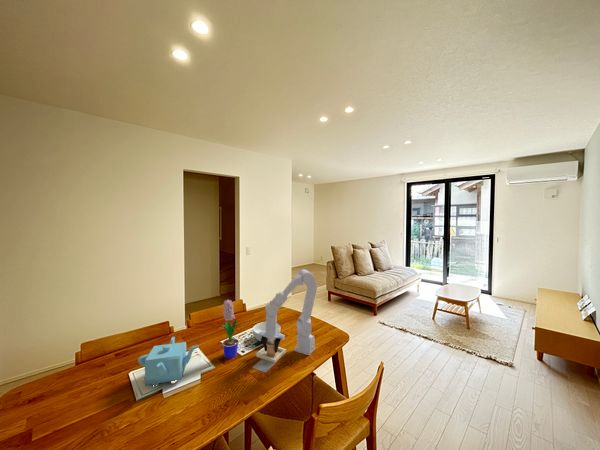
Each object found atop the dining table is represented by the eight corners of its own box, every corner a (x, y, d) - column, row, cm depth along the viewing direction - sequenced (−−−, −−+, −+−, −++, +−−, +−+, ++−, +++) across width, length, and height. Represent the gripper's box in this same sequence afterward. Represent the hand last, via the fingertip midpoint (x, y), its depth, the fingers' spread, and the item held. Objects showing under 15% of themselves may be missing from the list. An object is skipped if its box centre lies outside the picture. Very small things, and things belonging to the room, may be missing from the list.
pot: (278, 352, 126) (278, 341, 126) (272, 357, 122) (272, 346, 122) (270, 350, 129) (270, 339, 129) (264, 355, 124) (264, 343, 124)
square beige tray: (286, 352, 127) (286, 349, 127) (274, 363, 118) (274, 360, 118) (268, 346, 133) (268, 343, 133) (255, 357, 123) (255, 353, 123)
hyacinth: (237, 361, 119) (236, 303, 118) (218, 359, 121) (218, 301, 120) (244, 352, 128) (244, 297, 127) (227, 350, 130) (226, 296, 129)
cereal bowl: (278, 346, 133) (278, 334, 133) (249, 346, 134) (249, 334, 133) (281, 332, 150) (281, 321, 150) (255, 331, 151) (255, 321, 150)
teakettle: (134, 383, 104) (134, 350, 103) (175, 360, 120) (174, 332, 120) (159, 399, 94) (159, 363, 94) (199, 372, 111) (199, 341, 110)
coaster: (275, 364, 117) (275, 363, 117) (265, 373, 110) (265, 372, 110) (262, 359, 121) (262, 358, 121) (252, 368, 114) (252, 367, 114)
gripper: (286, 324, 127) (286, 348, 127) (261, 321, 130) (261, 345, 131) (282, 330, 120) (282, 356, 121) (256, 327, 124) (256, 352, 124)
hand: (271, 351), depth 125 cm, fingers closed on pot, 5 cm apart
